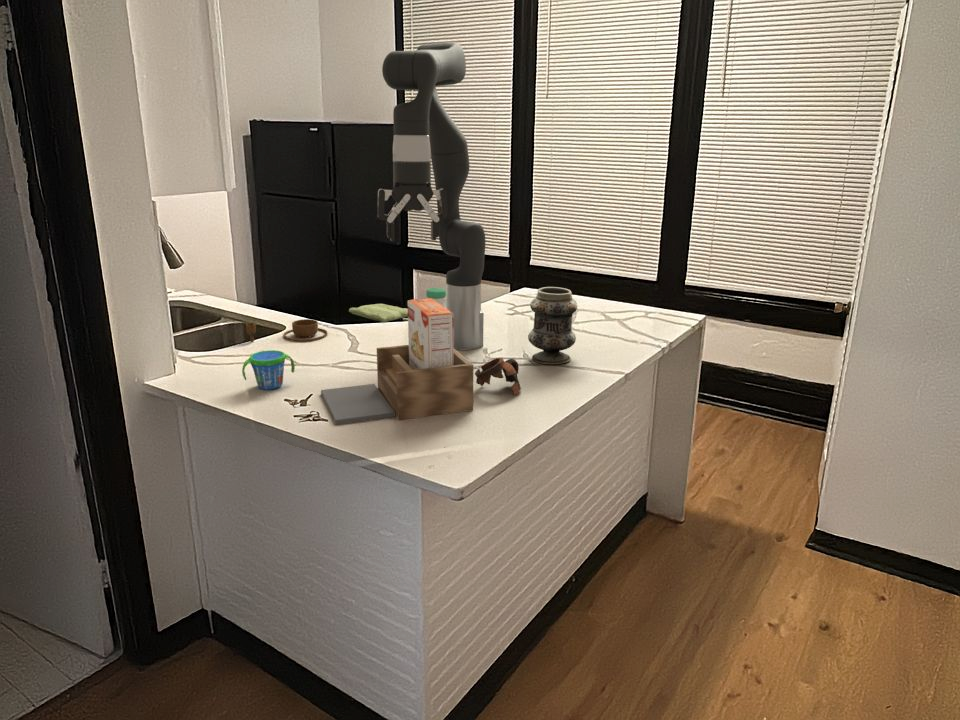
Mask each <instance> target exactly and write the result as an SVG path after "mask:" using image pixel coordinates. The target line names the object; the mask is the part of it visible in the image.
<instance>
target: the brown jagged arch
mask: <svg viewBox="0 0 960 720" xmlns="http://www.w3.org/2000/svg"><path fill="white" fill-rule="evenodd" d="M518 373H519V363H518V361H517V360H516V359H514V358H508V359H507V360H504V358H503V357H496V358H493V359H491V360H488V362H486V363H484V364H482V365H481V366H480V368H478V369H477V370H475V372H474V375H475V377H476V381H475V382H476V384H477V385H479V386H481V387H484V385H485V384H487V385H491V378H492V377H493V378H498V379H503V378H504V377H505V381H506V382H509V383H513V384H512V385H511V386H510V389H511V390H512V394H513V396H515V395H517V394H518V393H519V392H520V391H521V389H522V388H521V384H520V382H519V378H518Z"/></svg>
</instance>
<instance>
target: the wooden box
mask: <svg viewBox="0 0 960 720" xmlns="http://www.w3.org/2000/svg"><path fill="white" fill-rule="evenodd" d="M392 355H400V357H401V358H402V359H403V360H404V361H405V362H406V363H407V364H408V365H409V344H404V345H403V344H402V345H394V346H393V345H391V346H385V347H384V346H383V347H376V368H377V369H376V370H377V371H376V372H377V388H378V389H379V391H380V392H381V394H382V395H383V396H384V398H385V399H386V401H387V402H388V403H389V405H390V406H391V408H392V409H393V410H394V412H395V417H396V418H397V420H398V421H403V420H411V419H418V418H424V417H433V416H439V415H448V414H454V413H462V412H469V411H470V412H471V411H474V364H473V363H472V362H470V360H468V359H467V358H466V357H465V356H464V355H463V354H461V353H460V352H459V350H456V349H454V348H453V366H444V367H435V368H426V369H417V370H409V371H400V372H396V379H397V387H396V385H395V384H394V383H393V382H392V380H391V379H390V378H389V376H388V375H387V374H386V369H390V368H392Z"/></svg>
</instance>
